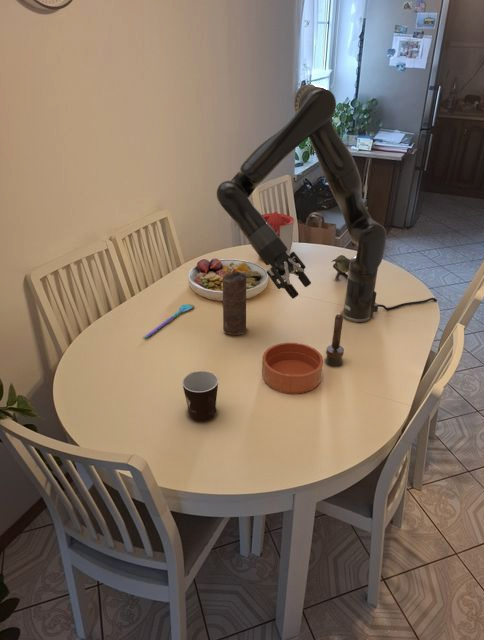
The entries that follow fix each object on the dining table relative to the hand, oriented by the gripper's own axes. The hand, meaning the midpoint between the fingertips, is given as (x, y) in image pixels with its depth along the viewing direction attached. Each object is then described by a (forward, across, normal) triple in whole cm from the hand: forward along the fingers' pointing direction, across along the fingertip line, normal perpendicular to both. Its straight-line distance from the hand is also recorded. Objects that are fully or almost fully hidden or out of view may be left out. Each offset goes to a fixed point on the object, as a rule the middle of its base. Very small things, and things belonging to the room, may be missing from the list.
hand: (302, 290), depth 137 cm
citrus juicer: (-13, +61, +42) cm, 75 cm away
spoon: (-17, -5, +46) cm, 49 cm away
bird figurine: (+10, +57, +19) cm, 61 cm away
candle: (-1, 0, +30) cm, 30 cm away
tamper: (+22, 0, +6) cm, 23 cm away
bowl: (-15, +28, +44) cm, 54 cm away
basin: (+17, -13, +12) cm, 24 cm away
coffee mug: (+9, -40, +20) cm, 45 cm away
